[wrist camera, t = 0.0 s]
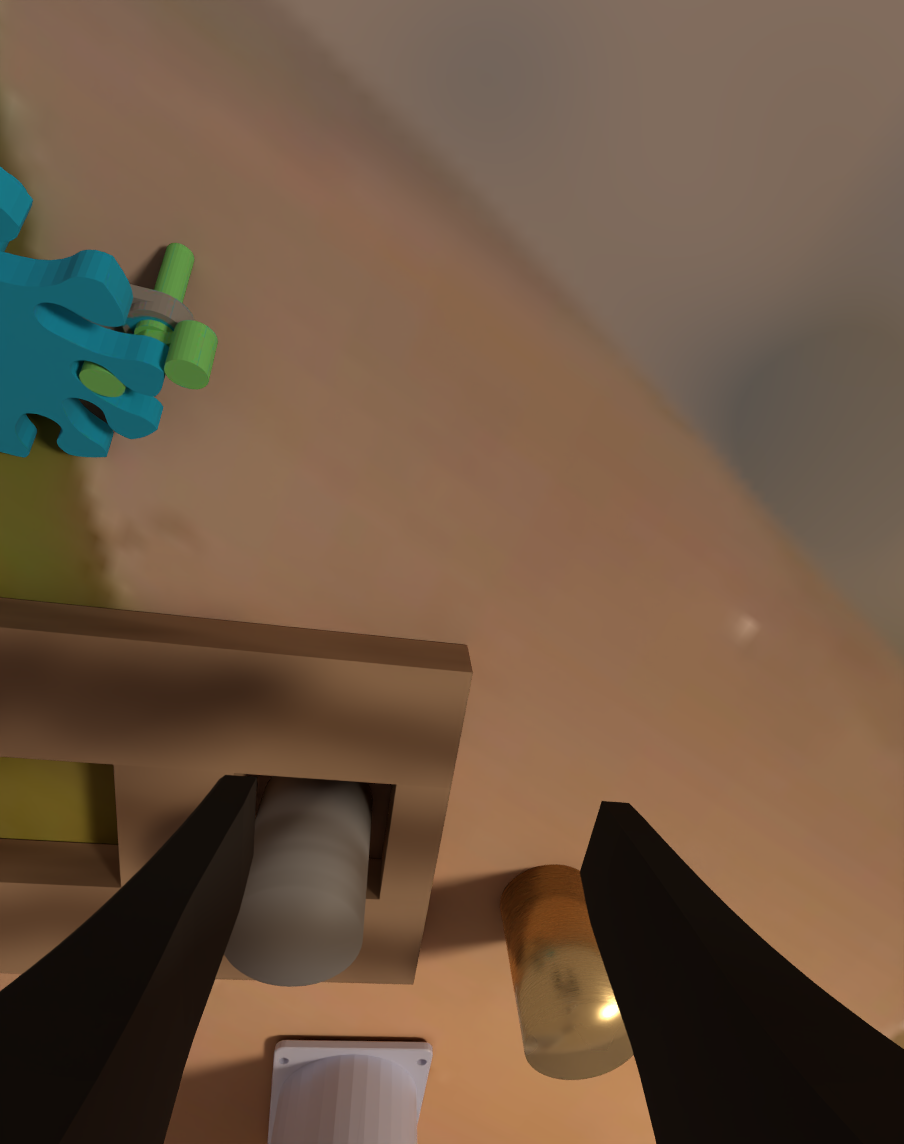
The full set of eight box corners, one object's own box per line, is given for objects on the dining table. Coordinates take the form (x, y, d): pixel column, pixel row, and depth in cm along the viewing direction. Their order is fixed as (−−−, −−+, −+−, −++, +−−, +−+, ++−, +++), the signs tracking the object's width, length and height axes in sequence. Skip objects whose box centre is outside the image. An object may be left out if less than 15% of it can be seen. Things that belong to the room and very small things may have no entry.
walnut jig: (412, 941, 27) (414, 1092, 22) (-47, 924, 25) (-177, 1090, 19) (466, 645, 22) (488, 746, 16) (-116, 585, 19) (-326, 681, 14)
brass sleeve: (581, 935, 28) (625, 1080, 23) (492, 932, 28) (514, 1079, 22) (604, 867, 27) (656, 1004, 21) (509, 861, 26) (538, 1001, 21)
